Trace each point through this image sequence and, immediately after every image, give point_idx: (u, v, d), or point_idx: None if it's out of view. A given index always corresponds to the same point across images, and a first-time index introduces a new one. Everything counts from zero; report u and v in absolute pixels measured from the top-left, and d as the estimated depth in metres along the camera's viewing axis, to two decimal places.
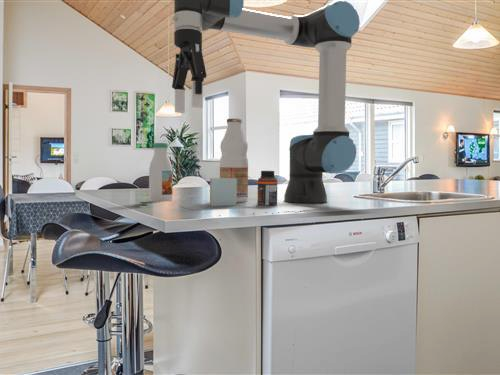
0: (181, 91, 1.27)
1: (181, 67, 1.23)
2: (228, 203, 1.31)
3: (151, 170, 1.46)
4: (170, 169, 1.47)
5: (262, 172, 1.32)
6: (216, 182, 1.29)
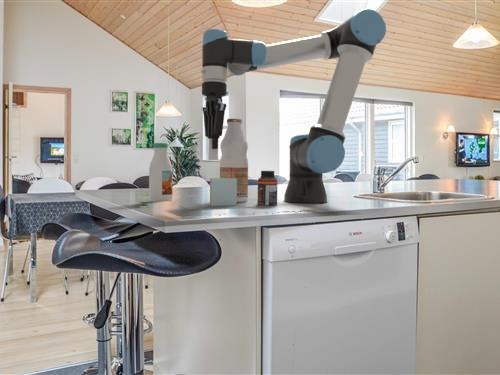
0: None
1: (210, 114, 1.36)
2: (228, 203, 1.31)
3: (151, 170, 1.46)
4: (170, 169, 1.47)
5: (262, 172, 1.32)
6: (216, 182, 1.29)
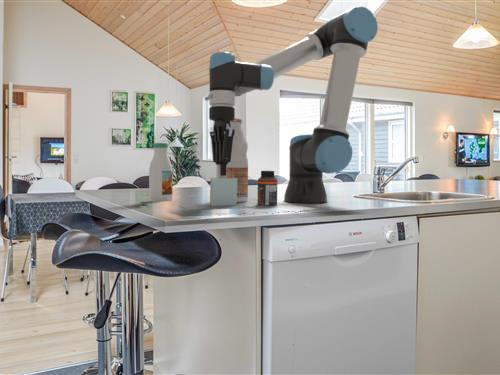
0: None
1: (218, 139, 1.31)
2: (228, 203, 1.31)
3: (151, 170, 1.46)
4: (170, 169, 1.47)
5: (262, 172, 1.32)
6: (216, 182, 1.28)
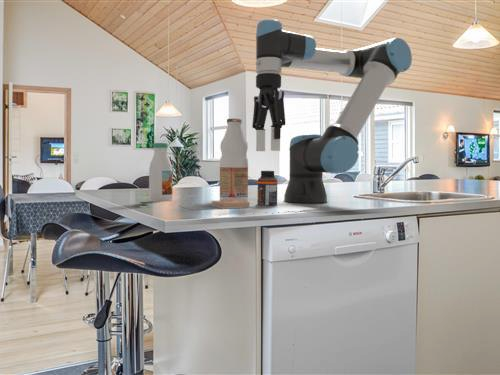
0: (262, 131, 1.36)
1: (262, 107, 1.34)
2: None
3: (151, 170, 1.46)
4: (170, 169, 1.47)
5: (262, 172, 1.32)
6: None
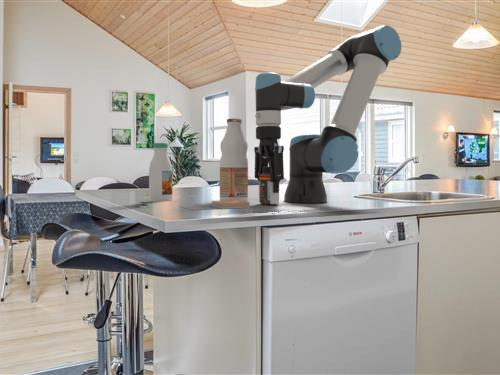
0: None
1: (263, 158, 1.34)
2: None
3: (151, 170, 1.46)
4: (170, 169, 1.47)
5: (263, 168, 1.32)
6: None
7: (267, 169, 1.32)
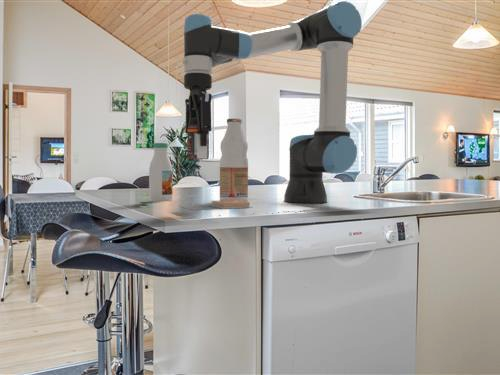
0: None
1: (192, 110, 1.23)
2: None
3: (151, 170, 1.46)
4: (170, 169, 1.47)
5: (191, 119, 1.21)
6: None
7: (195, 120, 1.20)
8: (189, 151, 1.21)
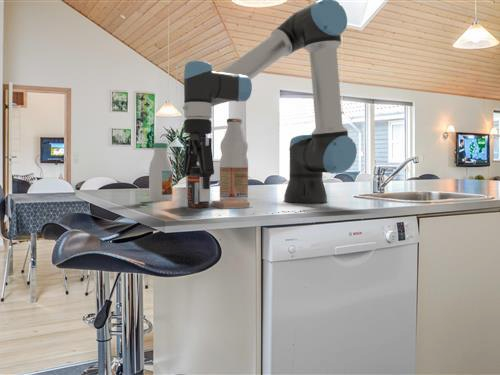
0: None
1: (191, 153, 1.24)
2: None
3: (151, 170, 1.46)
4: (170, 169, 1.47)
5: (192, 168, 1.22)
6: None
7: (195, 170, 1.21)
8: (189, 200, 1.21)
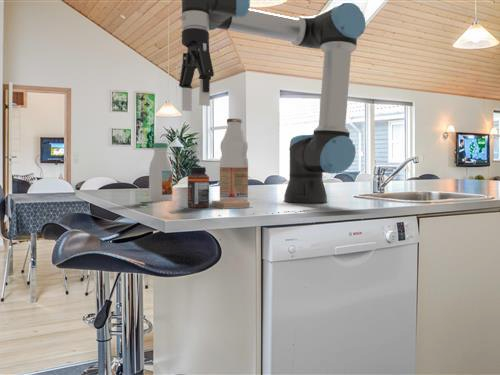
0: (188, 89, 1.29)
1: (188, 66, 1.25)
2: None
3: (151, 170, 1.46)
4: (170, 169, 1.47)
5: (192, 168, 1.22)
6: None
7: (195, 170, 1.21)
8: (189, 200, 1.21)
